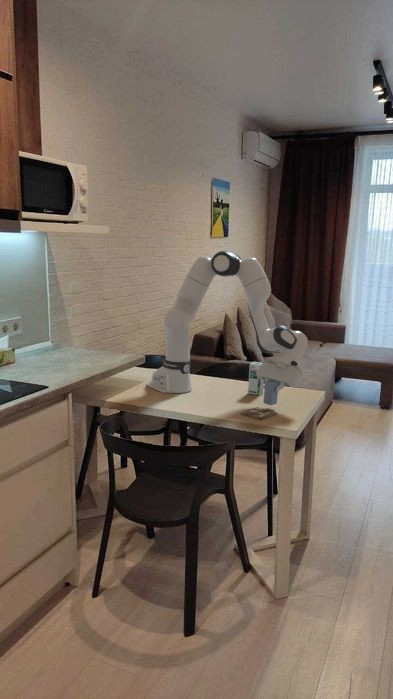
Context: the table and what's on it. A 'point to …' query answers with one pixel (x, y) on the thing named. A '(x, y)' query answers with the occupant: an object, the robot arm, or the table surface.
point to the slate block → (270, 393)
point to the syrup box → (255, 380)
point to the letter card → (258, 413)
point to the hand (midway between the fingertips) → (270, 390)
